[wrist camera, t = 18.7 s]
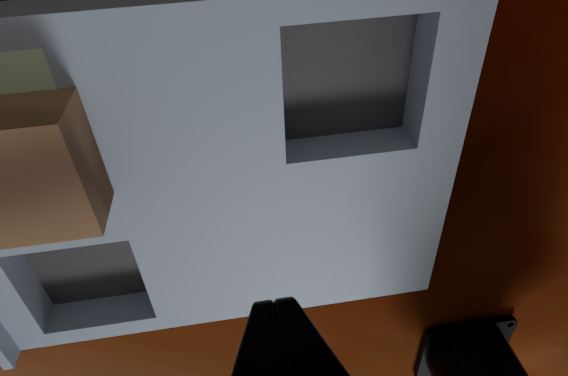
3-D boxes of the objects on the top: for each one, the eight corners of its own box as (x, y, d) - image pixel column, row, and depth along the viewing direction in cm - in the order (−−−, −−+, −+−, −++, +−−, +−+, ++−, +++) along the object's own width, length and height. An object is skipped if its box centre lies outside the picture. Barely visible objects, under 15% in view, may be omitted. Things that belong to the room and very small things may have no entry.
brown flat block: (114, 192, 18) (103, 236, 16) (-5, 207, 17) (-32, 254, 15) (76, 87, 15) (57, 124, 13) (-68, 101, 14) (-110, 142, 12)
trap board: (414, 262, 26) (435, 304, 24) (22, 318, 24) (3, 370, 22) (475, -38, 16) (521, -18, 14) (-181, 15, 14) (-256, 50, 12)
